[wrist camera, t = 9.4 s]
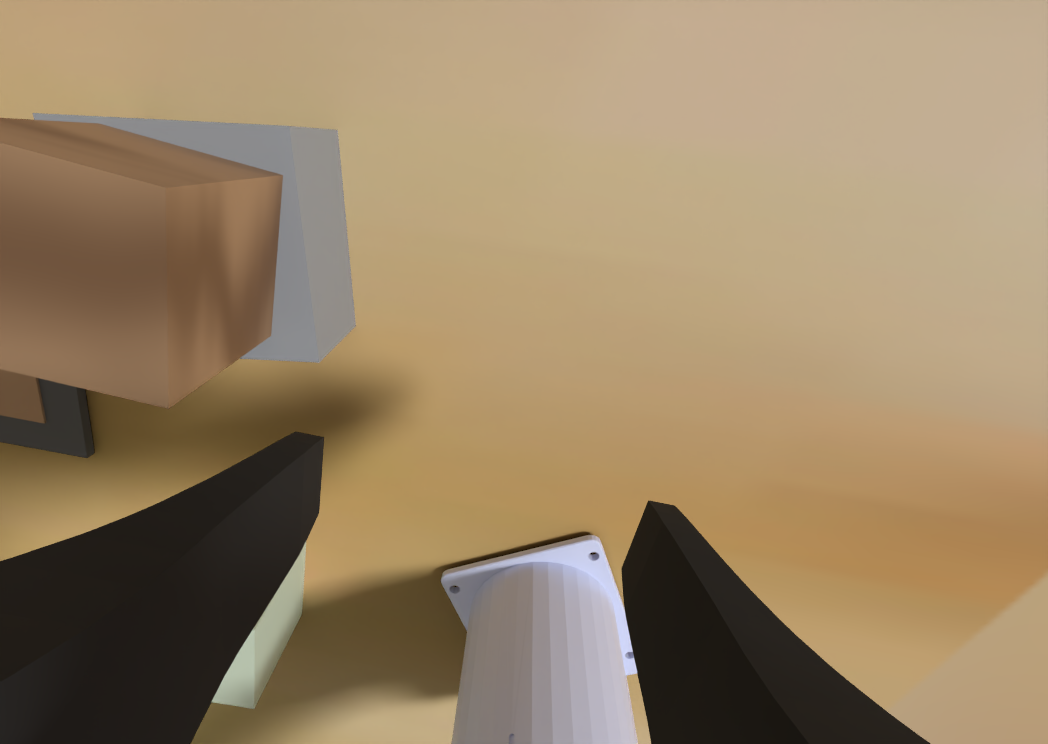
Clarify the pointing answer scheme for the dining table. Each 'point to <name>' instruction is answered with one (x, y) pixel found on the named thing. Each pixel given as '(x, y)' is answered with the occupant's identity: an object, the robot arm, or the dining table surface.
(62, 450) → the card
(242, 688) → the sage block
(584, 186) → the dining table surface
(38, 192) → the walnut block
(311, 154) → the slate base
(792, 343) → the dining table surface
